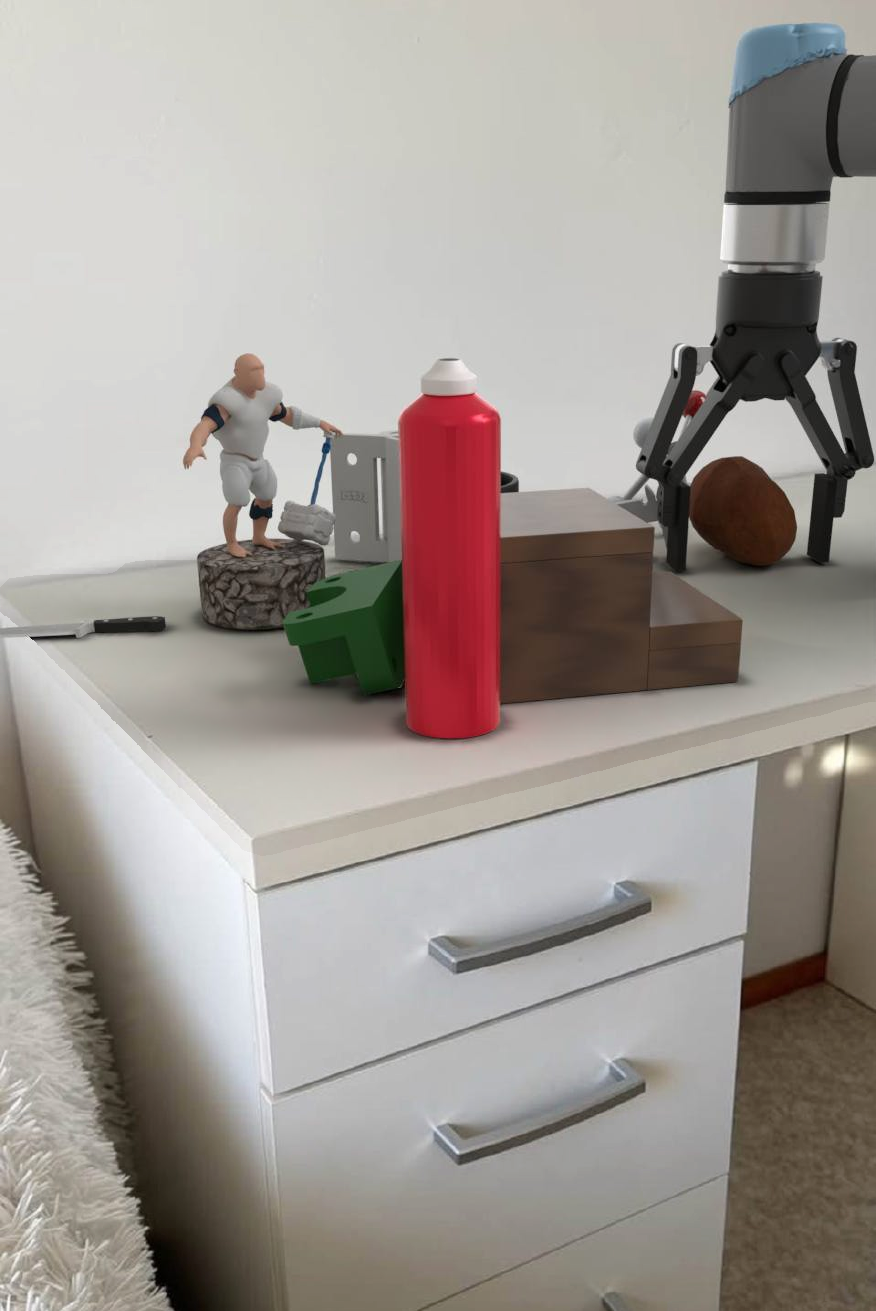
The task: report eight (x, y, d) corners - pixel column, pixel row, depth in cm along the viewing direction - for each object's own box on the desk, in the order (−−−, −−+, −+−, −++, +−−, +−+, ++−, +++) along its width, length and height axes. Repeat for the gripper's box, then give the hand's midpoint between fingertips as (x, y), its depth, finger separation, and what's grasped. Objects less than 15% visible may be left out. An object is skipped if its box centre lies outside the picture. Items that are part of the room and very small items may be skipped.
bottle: (457, 699, 86) (453, 350, 77) (519, 722, 82) (522, 358, 73) (387, 721, 82) (374, 359, 74) (448, 746, 79) (443, 368, 70)
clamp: (349, 714, 96) (325, 582, 96) (434, 696, 95) (409, 562, 95) (291, 704, 84) (263, 554, 84) (386, 684, 83) (358, 531, 83)
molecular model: (594, 527, 125) (598, 402, 121) (652, 502, 134) (658, 385, 130) (680, 538, 121) (687, 409, 117) (734, 511, 130) (743, 391, 126)
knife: (-53, 636, 97) (-47, 628, 99) (-51, 646, 98) (-45, 637, 99) (163, 623, 99) (165, 614, 100) (164, 632, 99) (166, 624, 101)
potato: (737, 586, 111) (732, 487, 106) (663, 549, 120) (656, 456, 116) (820, 559, 112) (818, 461, 108) (741, 524, 122) (736, 432, 118)
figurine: (232, 648, 95) (209, 368, 88) (148, 626, 100) (119, 359, 93) (376, 601, 106) (367, 346, 98) (293, 583, 111) (278, 339, 103)
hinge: (331, 558, 117) (326, 432, 113) (378, 547, 120) (374, 424, 116) (453, 586, 108) (452, 451, 104) (500, 573, 112) (501, 442, 107)
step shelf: (667, 627, 98) (675, 481, 94) (738, 681, 88) (751, 520, 84) (443, 646, 95) (441, 496, 91) (488, 705, 85) (489, 538, 80)
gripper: (899, 260, 109) (866, 543, 118) (601, 268, 106) (592, 558, 115) (945, 266, 102) (906, 565, 112) (629, 275, 99) (617, 582, 109)
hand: (747, 562), depth 114 cm, fingers open, 11 cm apart
